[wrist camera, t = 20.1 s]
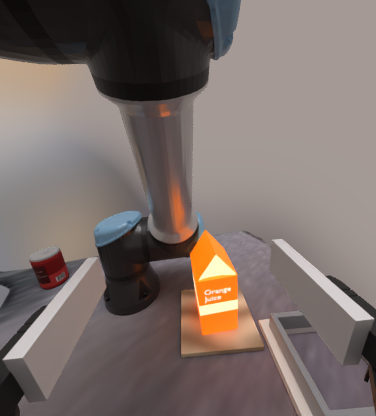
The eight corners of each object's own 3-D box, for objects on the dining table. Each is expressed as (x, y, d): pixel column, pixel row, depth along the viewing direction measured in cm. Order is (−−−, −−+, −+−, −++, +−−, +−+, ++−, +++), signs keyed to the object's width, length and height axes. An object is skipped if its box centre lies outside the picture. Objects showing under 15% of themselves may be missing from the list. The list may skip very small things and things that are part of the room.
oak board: (181, 293, 49) (181, 290, 49) (238, 287, 49) (238, 285, 49) (181, 357, 34) (181, 354, 33) (264, 350, 34) (264, 346, 33)
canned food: (71, 270, 63) (62, 243, 59) (66, 285, 56) (54, 255, 52) (46, 277, 61) (35, 249, 57) (37, 293, 53) (23, 263, 50)
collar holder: (258, 325, 39) (259, 307, 37) (339, 317, 39) (344, 300, 37) (319, 464, 21) (325, 443, 20) (464, 450, 22) (482, 429, 20)
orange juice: (202, 335, 36) (192, 258, 29) (195, 299, 45) (186, 231, 37) (238, 328, 37) (238, 250, 29) (225, 294, 45) (222, 225, 37)
